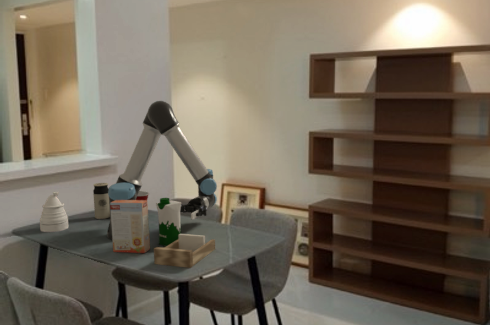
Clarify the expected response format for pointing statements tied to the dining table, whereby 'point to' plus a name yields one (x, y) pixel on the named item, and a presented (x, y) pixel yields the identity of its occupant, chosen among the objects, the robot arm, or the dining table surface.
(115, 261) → the dining table surface
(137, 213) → the cracker box
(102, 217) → the travel mug
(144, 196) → the plastic cup
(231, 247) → the dining table surface
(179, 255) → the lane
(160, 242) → the soya milk
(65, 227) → the honey pot
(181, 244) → the block
